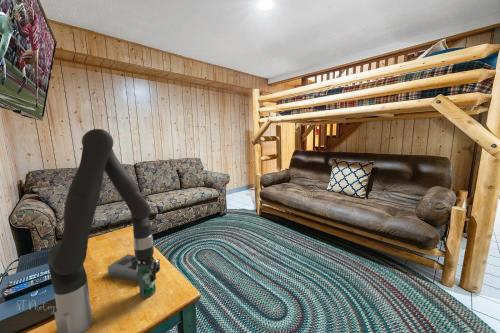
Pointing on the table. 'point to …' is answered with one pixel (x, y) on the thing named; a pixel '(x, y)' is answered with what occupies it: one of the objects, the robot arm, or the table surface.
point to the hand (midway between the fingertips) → (146, 279)
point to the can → (145, 281)
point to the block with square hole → (123, 269)
